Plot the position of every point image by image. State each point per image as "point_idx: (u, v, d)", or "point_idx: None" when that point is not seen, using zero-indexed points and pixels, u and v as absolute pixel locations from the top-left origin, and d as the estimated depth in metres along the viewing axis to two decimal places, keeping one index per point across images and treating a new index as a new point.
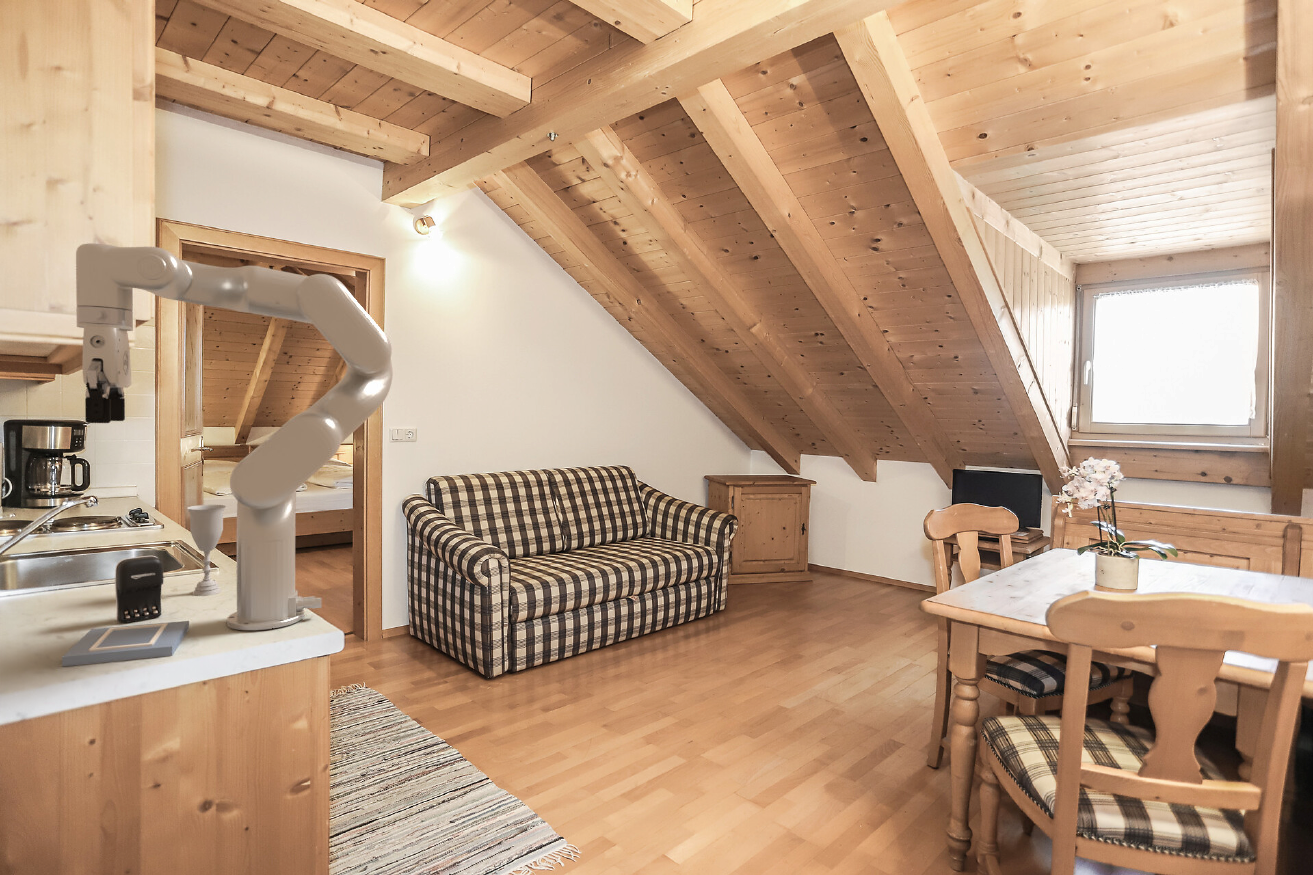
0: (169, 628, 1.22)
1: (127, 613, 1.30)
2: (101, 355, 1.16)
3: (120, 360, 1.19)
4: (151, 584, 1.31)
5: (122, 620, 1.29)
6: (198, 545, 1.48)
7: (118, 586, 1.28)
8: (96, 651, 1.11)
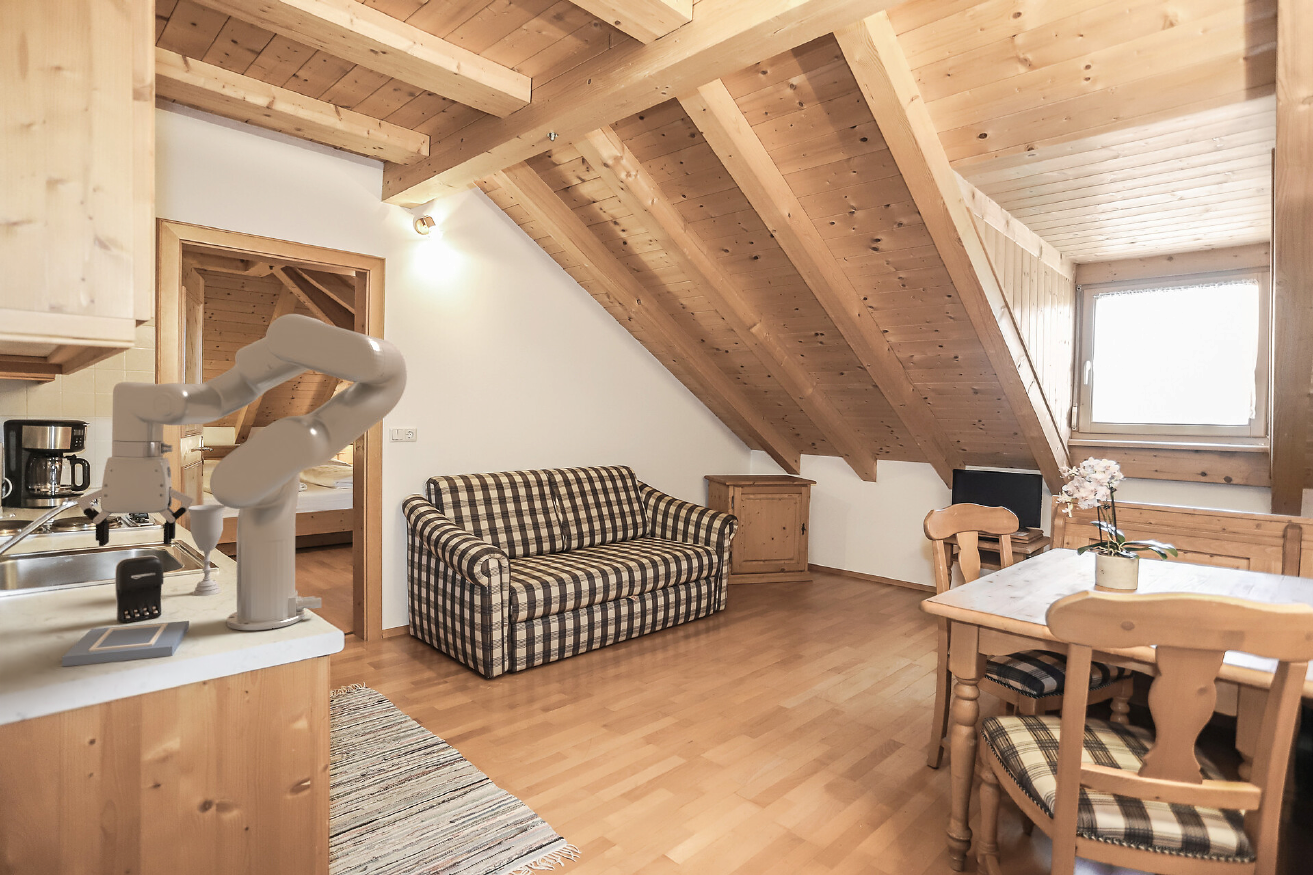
0: (169, 628, 1.22)
1: (127, 613, 1.30)
2: (170, 483, 1.33)
3: None
4: (151, 584, 1.31)
5: (122, 620, 1.29)
6: (198, 545, 1.48)
7: (118, 586, 1.28)
8: (96, 651, 1.11)
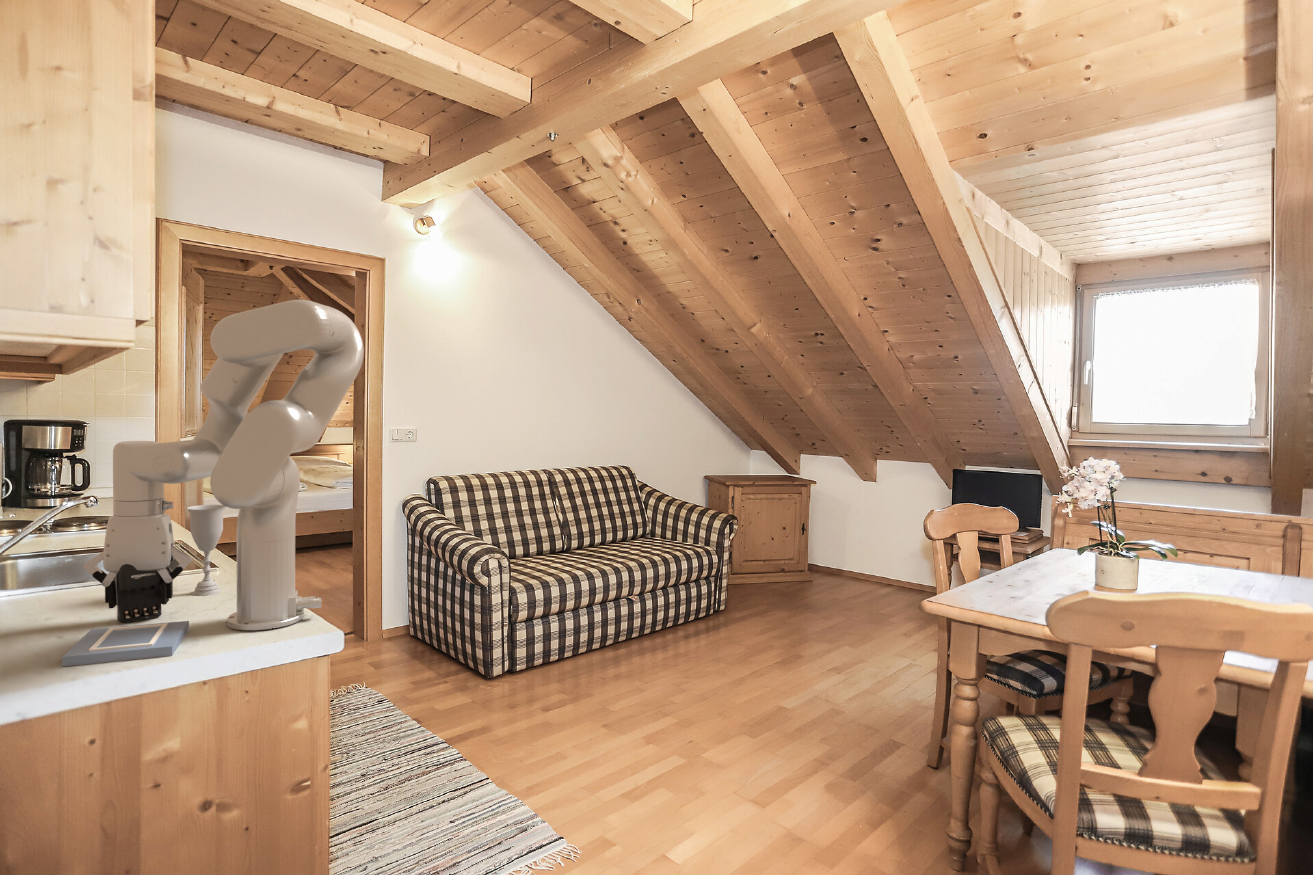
0: (169, 628, 1.22)
1: (127, 613, 1.30)
2: (172, 539, 1.33)
3: None
4: (151, 584, 1.31)
5: (122, 620, 1.29)
6: (198, 545, 1.48)
7: (118, 586, 1.28)
8: (96, 651, 1.11)
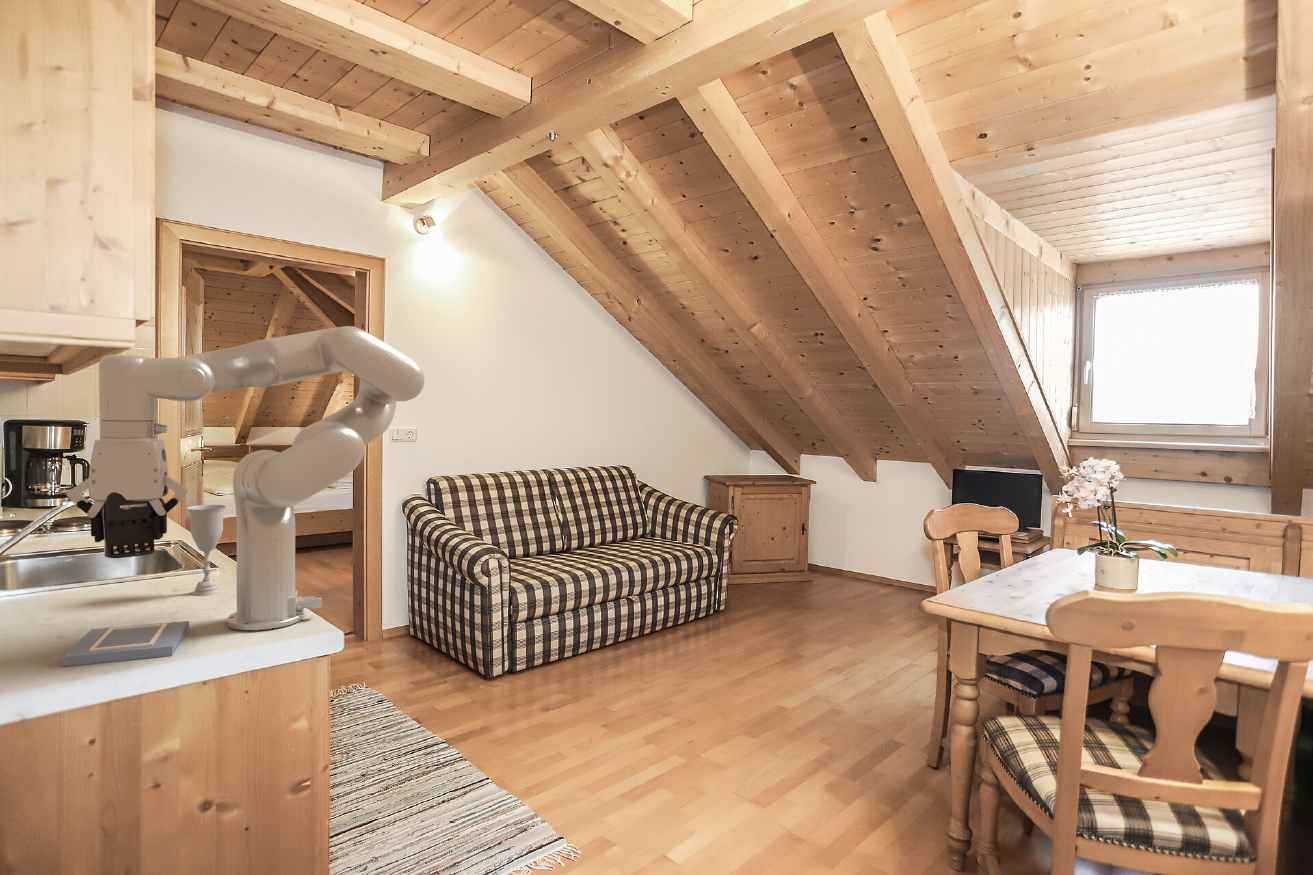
0: (169, 628, 1.22)
1: (116, 548, 1.16)
2: (166, 468, 1.19)
3: None
4: (142, 516, 1.17)
5: (110, 555, 1.15)
6: (198, 545, 1.48)
7: (105, 517, 1.14)
8: (96, 651, 1.11)
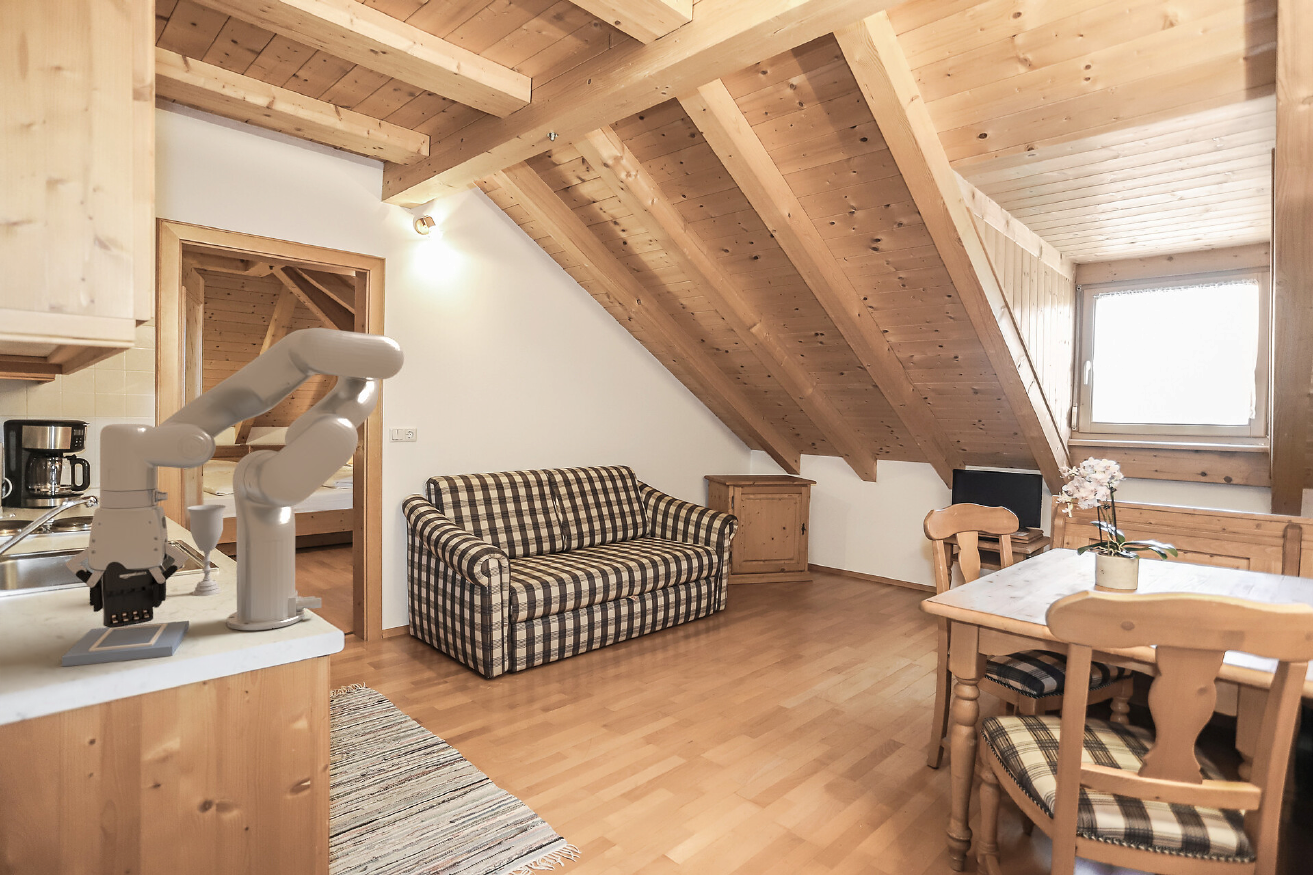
0: (169, 628, 1.22)
1: (115, 617, 1.16)
2: (166, 535, 1.19)
3: None
4: (142, 584, 1.17)
5: (109, 625, 1.14)
6: (198, 545, 1.48)
7: (105, 586, 1.14)
8: (96, 651, 1.11)
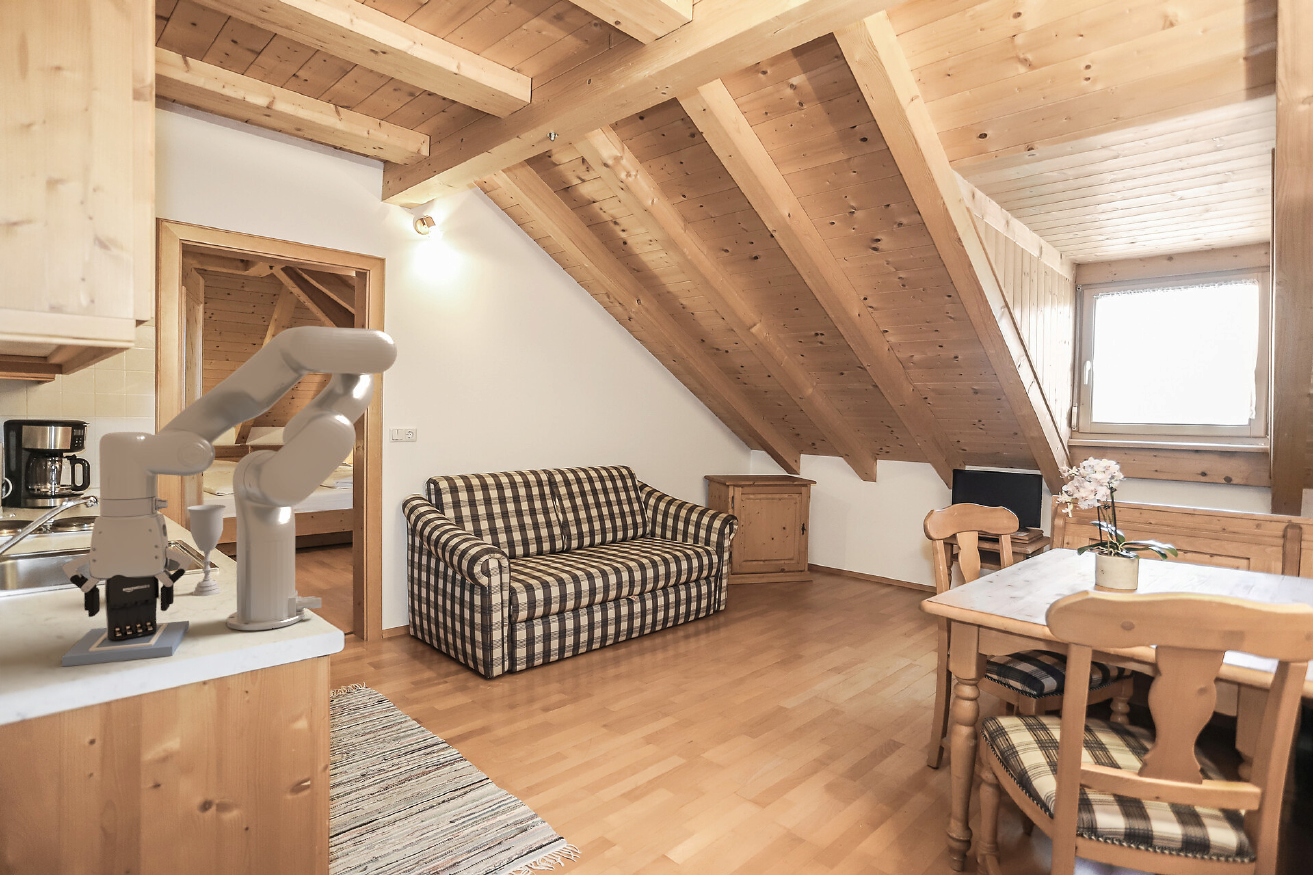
0: (169, 628, 1.22)
1: (118, 630, 1.16)
2: (166, 542, 1.19)
3: None
4: (145, 598, 1.17)
5: (112, 638, 1.15)
6: (198, 545, 1.48)
7: (108, 600, 1.14)
8: (96, 651, 1.11)
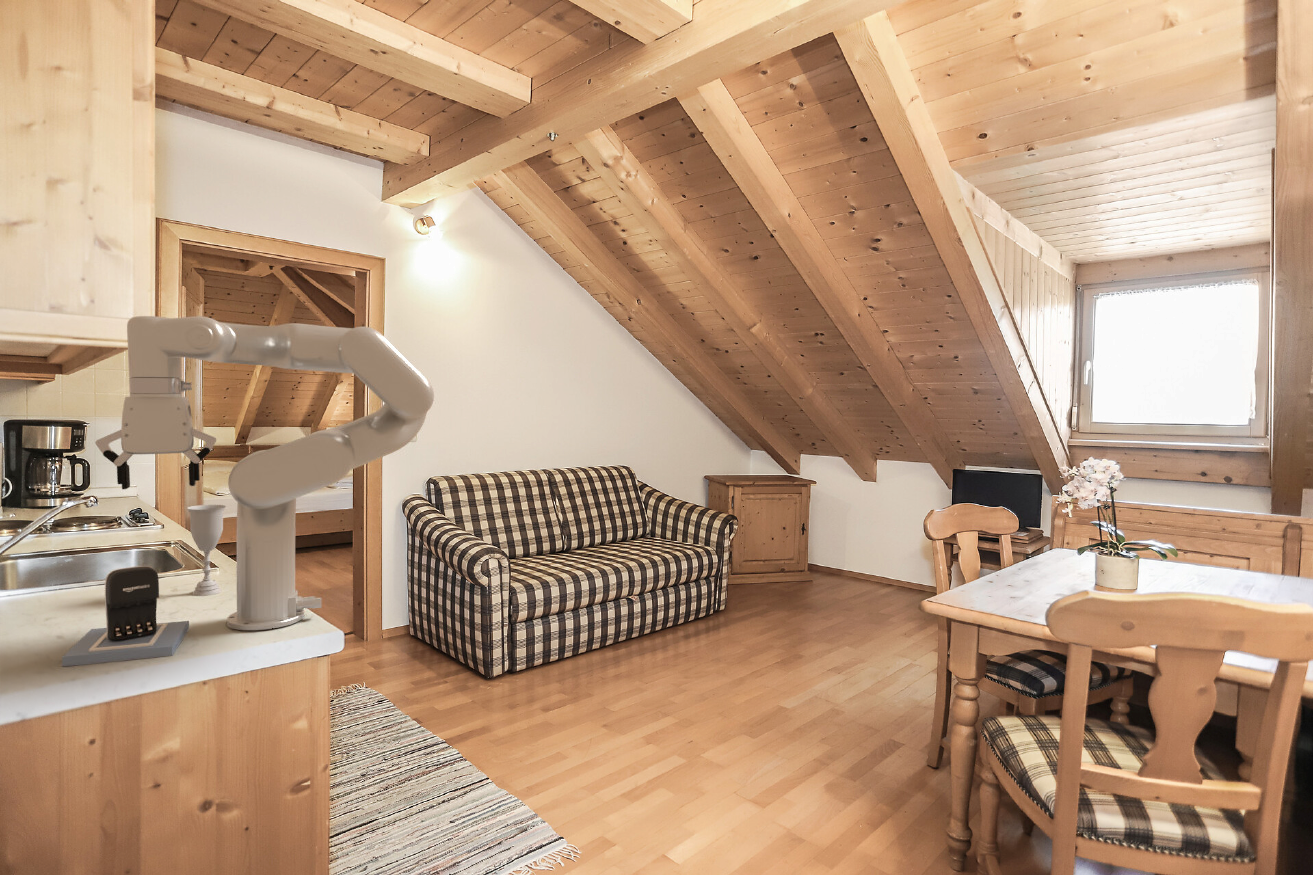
0: (169, 628, 1.22)
1: (118, 630, 1.16)
2: (191, 423, 1.27)
3: None
4: (145, 597, 1.17)
5: (112, 638, 1.15)
6: (198, 545, 1.48)
7: (108, 600, 1.14)
8: (96, 651, 1.11)
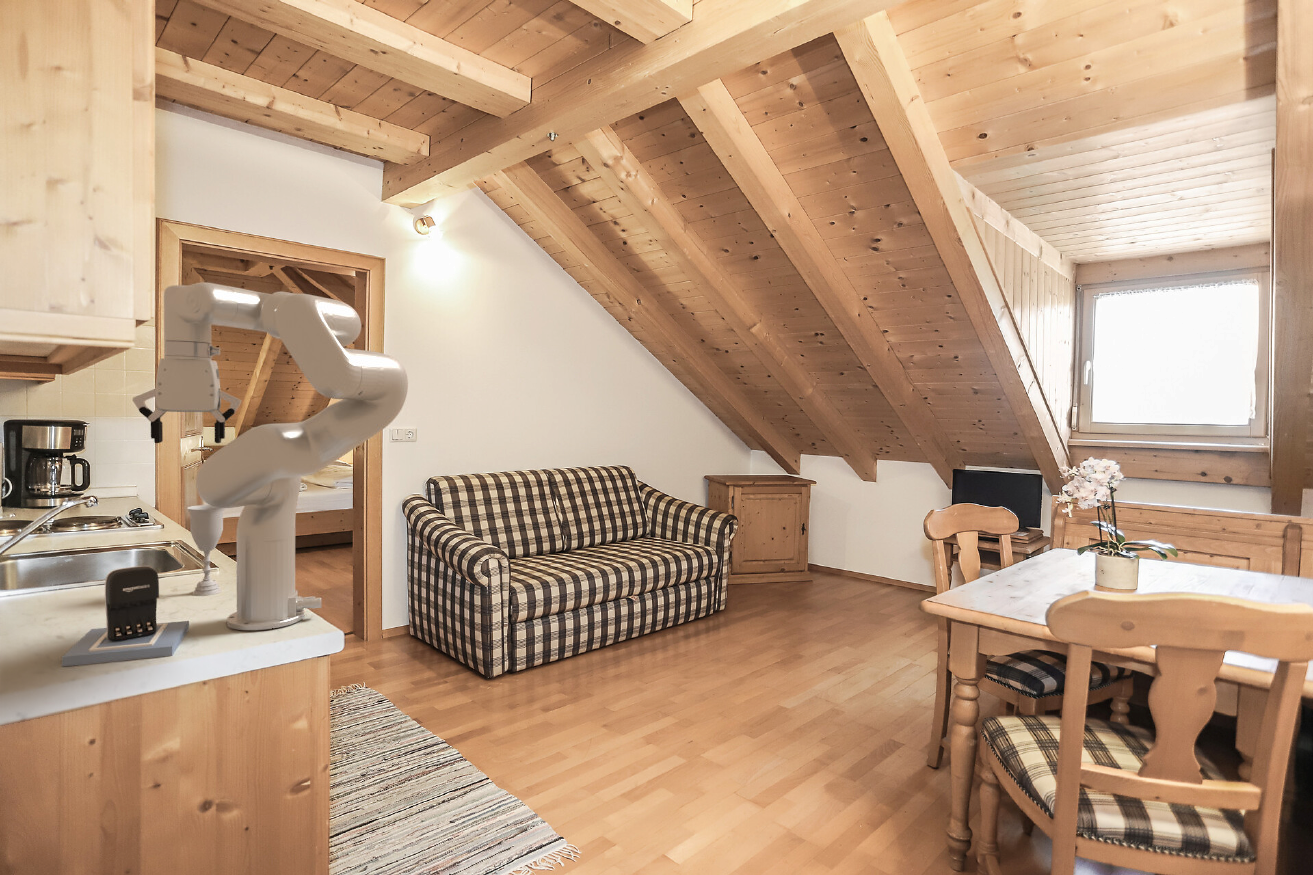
0: (169, 628, 1.22)
1: (118, 630, 1.16)
2: (219, 385, 1.38)
3: None
4: (145, 598, 1.17)
5: (112, 638, 1.15)
6: (198, 545, 1.48)
7: (108, 600, 1.14)
8: (96, 651, 1.11)
